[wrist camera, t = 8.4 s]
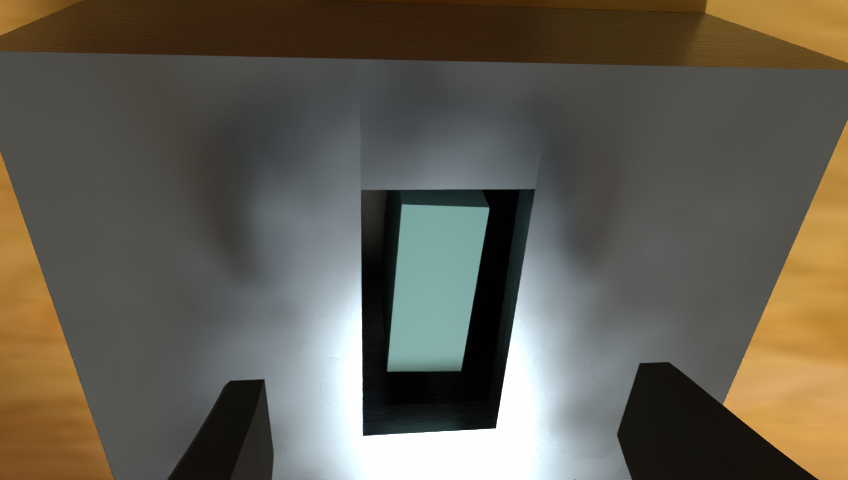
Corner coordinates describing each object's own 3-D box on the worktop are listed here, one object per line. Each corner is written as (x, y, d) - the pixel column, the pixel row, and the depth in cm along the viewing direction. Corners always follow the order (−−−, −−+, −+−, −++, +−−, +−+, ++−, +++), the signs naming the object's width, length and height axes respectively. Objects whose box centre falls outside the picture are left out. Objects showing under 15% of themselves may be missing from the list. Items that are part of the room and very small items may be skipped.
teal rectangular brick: (380, 284, 19) (387, 371, 15) (390, 138, 16) (401, 204, 13) (441, 285, 19) (460, 371, 16) (460, 142, 17) (489, 207, 13)
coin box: (181, 358, 21) (126, 513, 15) (101, -8, 14) (-35, 50, 9) (613, 342, 22) (691, 475, 17) (705, 13, 16) (868, 70, 11)
